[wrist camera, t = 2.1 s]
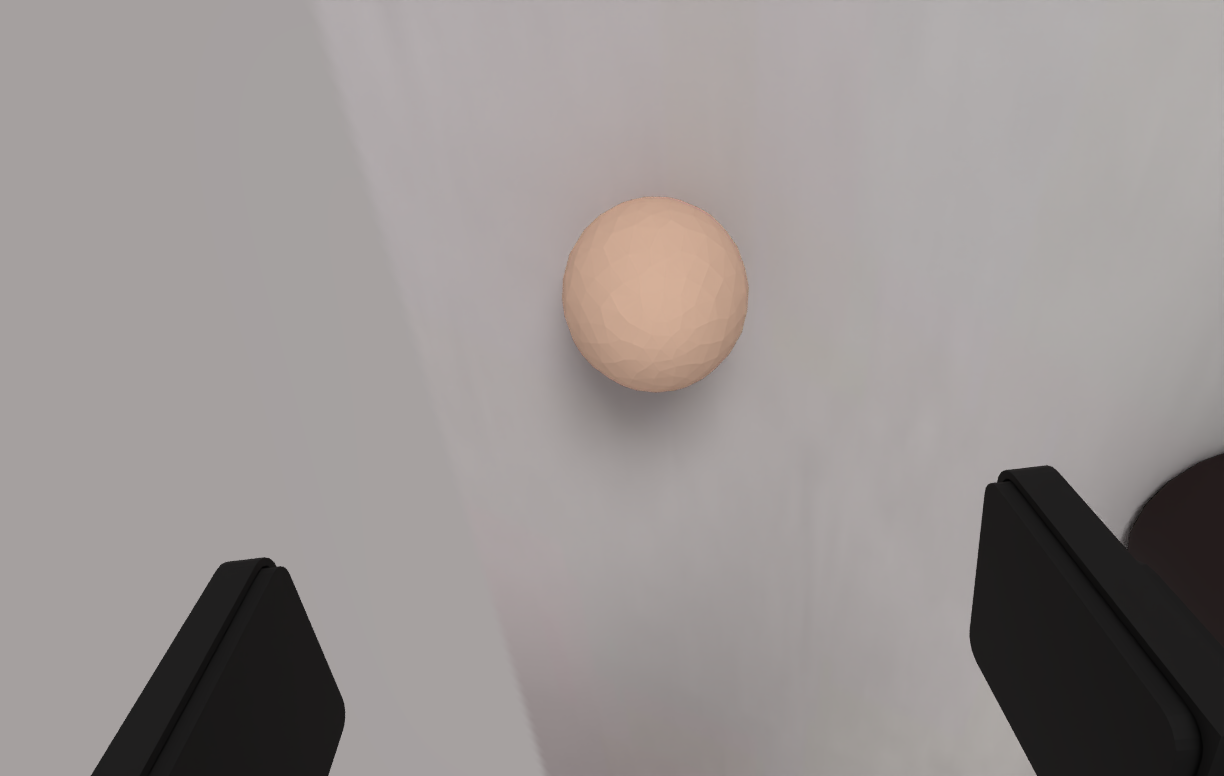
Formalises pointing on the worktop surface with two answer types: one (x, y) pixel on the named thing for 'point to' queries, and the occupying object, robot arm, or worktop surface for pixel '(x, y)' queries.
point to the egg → (655, 294)
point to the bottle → (1188, 540)
